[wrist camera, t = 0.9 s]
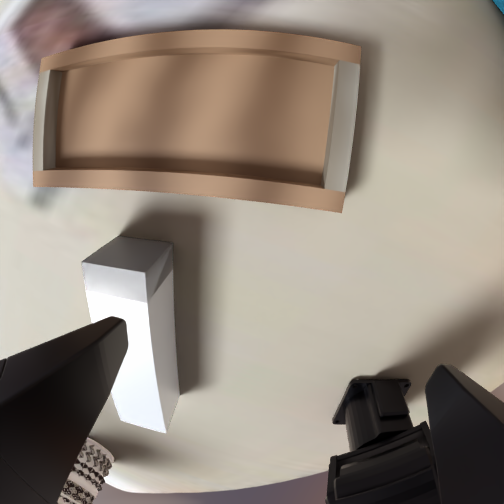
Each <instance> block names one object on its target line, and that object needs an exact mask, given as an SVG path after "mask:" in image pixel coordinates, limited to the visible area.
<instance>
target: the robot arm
mask: <svg viewBox="0 0 504 504" xmlns="http://www.w3.org/2000/svg"><path fill="white" fill-rule="evenodd" d="M128 345H129V342H128V333H127V324H126V321H125V320H124V319H123V318H119V317H115V316H109V317H107V318H104V319H102V320H99V321H97V322H95V323H92V324H90V325H87V326H85V327H82V328H80V329H77V330H75V331H72V332H70V333H67V334H65V335H62V336H60V337H57V338H55V339H52V340H50V341H48V342H45V343H43V344H40V345H38V346H35V347H33V348H30V349H28V350H25V351H23V352H20V353H18V354H15V355H13V356H10V357H8V358H7V359H6V358H5V359H2V360H0V504H56V503H57V501H58V499H59V497H60V494H61V492H62V490H63V488H64V485H65V483H66V481H67V479H68V477H69V475H70V472H71V470H72V468H73V466H74V464H75V462H76V460H77V458H78V456H79V454H80V452H81V449H82V447H83V445H84V443H85V441H86V439H87V437H88V435H89V433H90V431H91V429H92V428H93V426H94V424H95V422H96V420H97V418H98V416H99V414H100V412H101V410H102V408H103V406H104V404H105V403H106V401H107V399H108V397H109V395H110V392H111V390H112V388H113V385H114V383H115V380H116V377H117V375H118V372H119V370H120V367H121V365H122V363H123V360H124V358H125V355H126V353H127V350H128ZM410 386H411V382H410V380H409V379H401V380H353V381H351V382H350V383H349V385H348V387H347V389H346V392H345V394H344V396H343V398H342V400H341V402H340V404H339V407H338V409H337V411H336V413H335V415H334V417H333V419H332V421H333V424H346V429H347V435H348V441H349V447H350V452H348V453H345V454H342V455H339V456H337V455H335V456H332V457H331V458H330V464H329V474H328V487H327V496H326V499H325V501H326V504H504V403H503V402H502V401H501V400H499V399H498V398H497V397H495V396H494V395H493V394H491V393H490V392H488V391H487V390H486V389H484V388H483V387H482V386H480V385H479V384H477V383H476V382H475V381H473V380H472V379H471V378H469V377H468V376H466V375H465V374H464V373H462V372H461V371H459V370H458V369H457V368H455V367H454V366H452V365H451V364H440V365H438V366H437V367H436V369H435V371H434V372H433V374H432V376H431V377H430V379H429V380H428V382H427V384H426V387H425V393H426V400H427V408H428V416H429V425H430V429H429V427H428V425H427V422H426V421H424V422H422V423H420V425H418V426H415V427H413V424H412V421H411V418H410V416H409V413H410V411H409V408H408V406H407V403H406V400H405V398H404V396H405V394H406V393H407V391H408V389H409V387H410Z"/></svg>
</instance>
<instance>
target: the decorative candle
mask: <svg viewBox="0 0 504 504" xmlns="http://www.w3.org/2000/svg"><path fill="white" fill-rule="evenodd" d="M113 461H114V457H113V455H112V454H111V453H110V452H109V451H108V450H107V449H106V448H105V447H103V446H102V445H100V444H99V443H97V442H96V441H94V440H92V439H90V438H89V437H87V439H86V441H85V443H84V445H83V447H82V449H81V452H80V454H79V456H78V458H77V460H76V462H75V464H74V466H73V468H72V470H71V472H70V475H69V477H68V479H67V481H66V483H65V485H64V488H63V490H62V492H61V494H60V497H59V499H58V501H57V503H56V504H92V502H93V500H94V499H95V498H96V496H97V494H98V491H100V490H102V487H101V485H100V484H103V483H105V480H104V478H103V477H105V476H108V474H109V471H108V470H109V469H111V467H112V465H111V463H113Z"/></svg>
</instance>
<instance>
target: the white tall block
mask: <svg viewBox="0 0 504 504" xmlns="http://www.w3.org/2000/svg"><path fill="white" fill-rule="evenodd" d="M82 269H83V276H84V282H85V288H86V294H87V300H88V305H89V310H90V315H91V320H92V323H95V322H97V321H99V320H102V319H104V318H107V317H109V316H115V317H119V318H123V319H124V320H125V321H126V324H127V333H128V342H129V345H128V350H127V353H126V355H125V358H124V360H123V363H122V365H121V367H120V370H119V372H118V375H117V377H116V380H115V383H114V385H113V388H112V390H111V394H112V397H113V400H114V403H115V406H116V409H117V411H118V414H119V417H120V420H121V421H124V422H127V423H130V424H134V425H137V426H140V427H144V428H147V429H151V430H155V431H159V432H162V433H167V430H168V427H169V425H170V422H171V419H172V416H173V413H174V410H175V408H176V405H177V402H178V399H179V396H180V392H179V381H178V368H177V355H176V339H175V318H174V288H173V243H171V242H163V241H155V240H147V239H139V238H131V237H123V236H117V237H116V238H114V239H113V240H112V241H110V242H109V243H107V244H106V245H104V246H103V247H101V248H100V249H99V250H97V251H96V252H94V253H93V254H92V255H90V256H89V257H87V258H86V259H85V260H83V261H82Z"/></svg>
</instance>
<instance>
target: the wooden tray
mask: <svg viewBox="0 0 504 504" xmlns="http://www.w3.org/2000/svg"><path fill="white" fill-rule="evenodd" d="M360 62H361V46H357V45H353V44H348V43H344V42H339V41H334V40H329V39H323V38H317V37H311V36H305V35H297V34H289V33H280V32H270V31H256V30H231V29H210V30H185V31H171V32H160V33H151V34H144V35H137V36H130V37H124V38H118V39H113V40H108V41H103V42H98V43H94V44H90V45H86V46H82V47H78V48H74V49H70V50H67V51H64V52H60V53H57V54H54V55H51V56H48V57H45V58H42V61H41V66H40V72H39V79H38V86H37V94H36V103H35V114H34V130H33V187H71V188H98V189H118V190H135V191H150V192H164V193H177V194H189V195H200V196H210V197H220V198H230V199H239V200H248V201H257V202H265V203H274V204H281V205H289V206H297V207H304V208H311V209H318V210H325V211H332V212H338V213H342V209H343V203H344V198H345V192H346V186H347V179H348V173H349V166H350V159H351V152H352V144H353V136H354V128H355V119H356V110H357V100H358V89H359V76H360Z"/></svg>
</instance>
